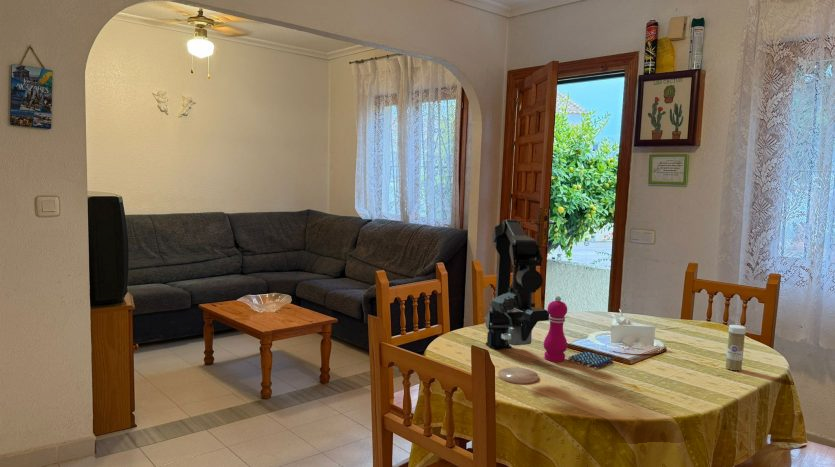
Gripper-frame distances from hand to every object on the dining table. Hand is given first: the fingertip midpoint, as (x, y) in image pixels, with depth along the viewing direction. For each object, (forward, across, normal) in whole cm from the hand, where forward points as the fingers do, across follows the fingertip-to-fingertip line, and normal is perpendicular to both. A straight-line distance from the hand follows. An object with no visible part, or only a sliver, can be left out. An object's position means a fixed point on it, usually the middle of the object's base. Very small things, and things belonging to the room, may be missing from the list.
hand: (519, 338), depth 167 cm
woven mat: (+12, -4, +29) cm, 32 cm away
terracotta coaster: (+11, 0, 0) cm, 11 cm away
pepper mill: (+11, -10, +20) cm, 25 cm away
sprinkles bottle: (+11, +16, +67) cm, 70 cm away
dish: (+12, -16, +54) cm, 58 cm away
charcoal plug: (+1, 0, 0) cm, 1 cm away
